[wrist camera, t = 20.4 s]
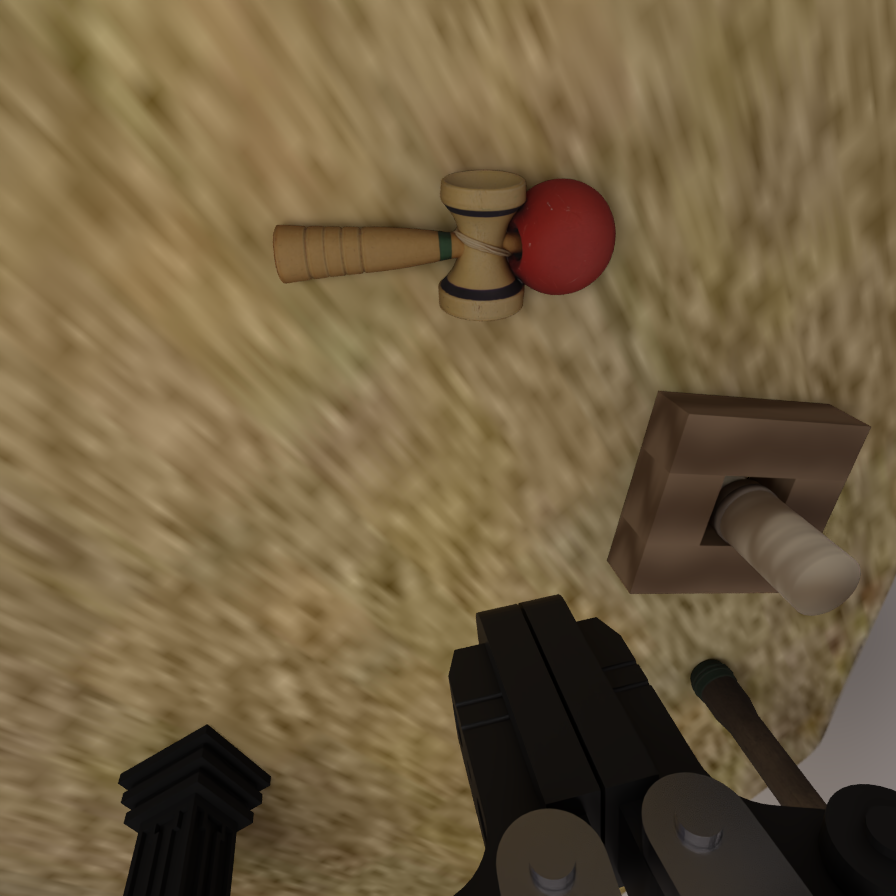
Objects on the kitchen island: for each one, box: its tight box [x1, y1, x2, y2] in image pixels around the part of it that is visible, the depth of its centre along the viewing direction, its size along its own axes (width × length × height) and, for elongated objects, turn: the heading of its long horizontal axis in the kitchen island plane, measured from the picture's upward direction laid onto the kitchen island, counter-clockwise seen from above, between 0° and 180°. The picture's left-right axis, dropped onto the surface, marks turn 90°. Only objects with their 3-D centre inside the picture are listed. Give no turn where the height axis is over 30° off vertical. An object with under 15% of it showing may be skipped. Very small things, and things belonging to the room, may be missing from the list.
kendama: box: [273, 170, 616, 321], centre depth 35 cm, size 8×6×18 cm
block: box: [607, 391, 871, 594], centre depth 46 cm, size 14×14×4 cm
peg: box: [709, 476, 861, 615], centre depth 43 cm, size 5×5×12 cm
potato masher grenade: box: [691, 660, 827, 809], centre depth 44 cm, size 8×9×30 cm
